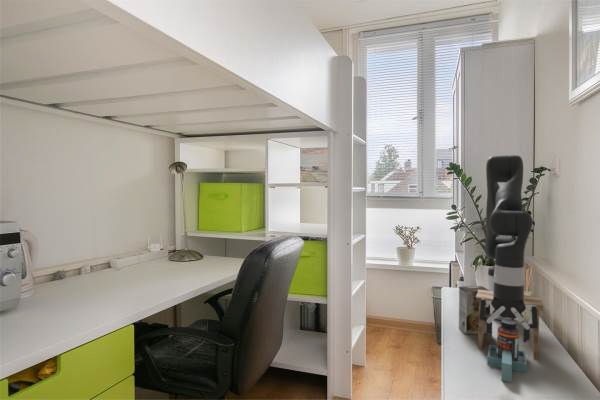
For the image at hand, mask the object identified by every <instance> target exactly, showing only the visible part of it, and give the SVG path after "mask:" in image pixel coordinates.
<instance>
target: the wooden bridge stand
mask: <svg viewBox="0 0 600 400" xmlns="http://www.w3.org/2000/svg"><path fill="white" fill-rule="evenodd" d="M493 292H494V291H486V290H478V292H477V295H476V302H479V322H478V335H477V349H479V350H480V349H483V345H484V344H483V343H484V338H485V334H484V320H481V319H480V308H481V300H482V298H486V299H488V300H492V299H493ZM542 300H543V299H542V297H541V296H534V295H525V294H524V304H525V305H532V304H535V305H536V307H537V321H538V327H537V328H532V329H531V350H532V352H531V353H532V359H533V360H537V361H538V360H539V337H540V335H539V333H540V332H539V331H540V330H539V328H540V312H543V311H544V305H543V304H544V303H543V301H542Z"/></svg>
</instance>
